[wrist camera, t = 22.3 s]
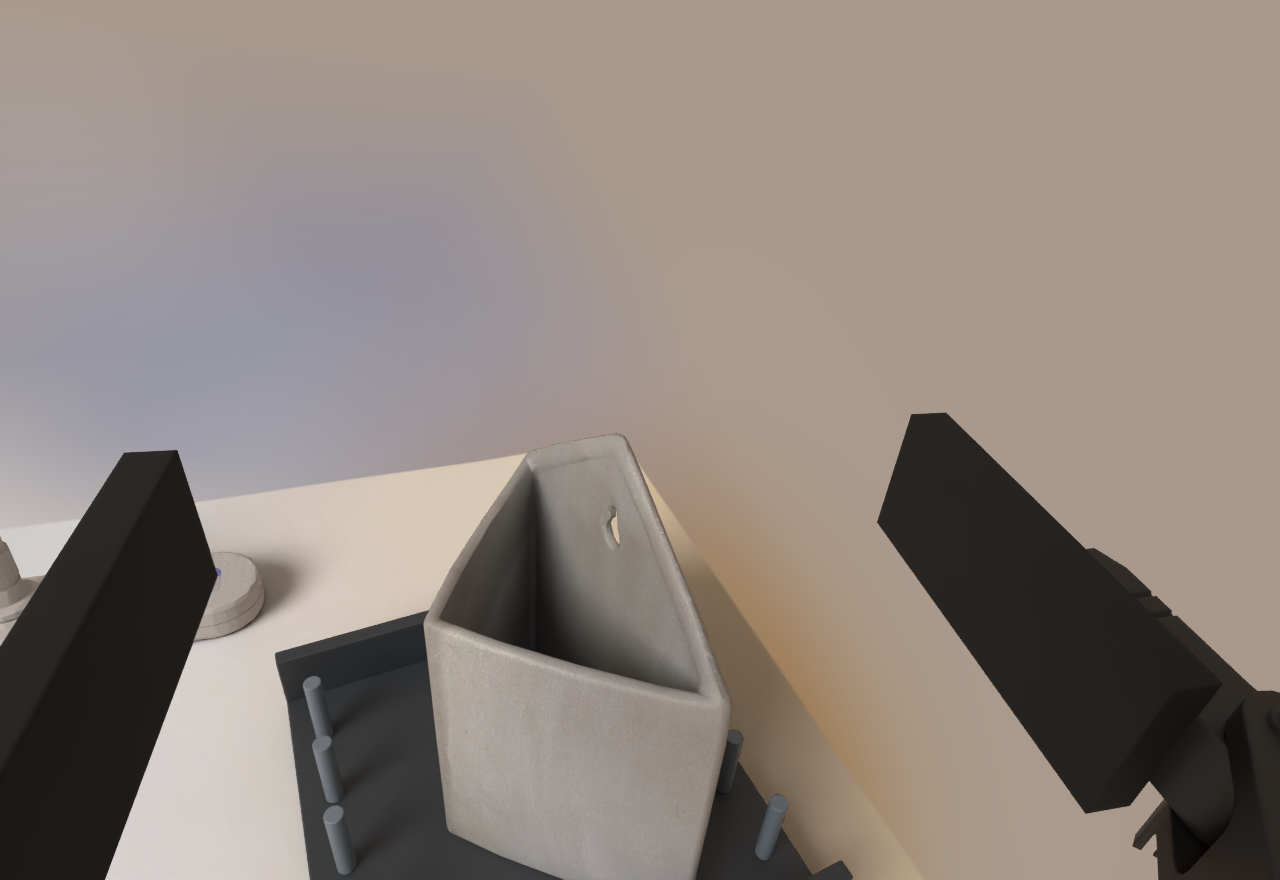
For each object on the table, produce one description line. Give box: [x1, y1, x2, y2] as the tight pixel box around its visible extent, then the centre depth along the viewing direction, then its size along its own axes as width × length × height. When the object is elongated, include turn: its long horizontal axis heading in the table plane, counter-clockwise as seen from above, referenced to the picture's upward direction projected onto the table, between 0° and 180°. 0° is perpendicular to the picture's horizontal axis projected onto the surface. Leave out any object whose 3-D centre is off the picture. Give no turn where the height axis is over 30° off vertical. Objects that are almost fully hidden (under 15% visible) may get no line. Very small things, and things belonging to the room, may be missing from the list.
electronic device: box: [0, 537, 264, 646], centre depth 41 cm, size 5×10×15 cm
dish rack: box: [275, 610, 853, 880], centre depth 35 cm, size 20×21×6 cm
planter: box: [424, 434, 732, 880], centre depth 30 cm, size 16×8×19 cm, turn 30°
